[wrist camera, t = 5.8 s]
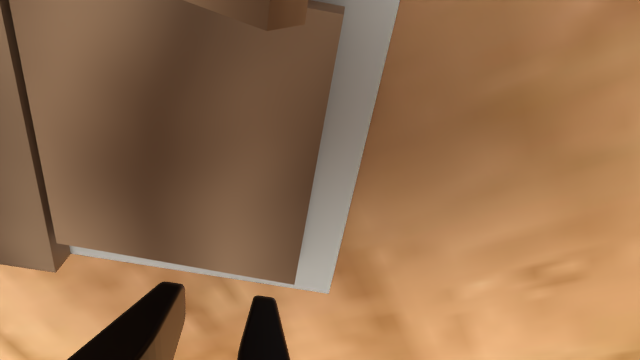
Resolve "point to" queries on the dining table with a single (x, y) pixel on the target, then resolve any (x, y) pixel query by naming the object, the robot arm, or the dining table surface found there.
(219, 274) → the underlay
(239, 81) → the plank
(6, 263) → the laid strip
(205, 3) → the plank
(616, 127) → the dining table surface
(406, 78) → the dining table surface
